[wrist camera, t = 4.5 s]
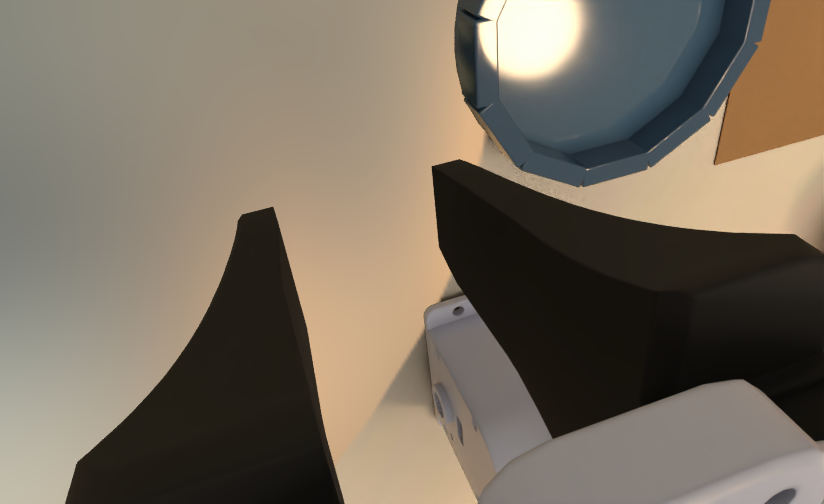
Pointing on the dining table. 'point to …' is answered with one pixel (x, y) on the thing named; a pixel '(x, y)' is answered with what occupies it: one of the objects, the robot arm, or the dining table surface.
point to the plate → (600, 77)
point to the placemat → (778, 84)
